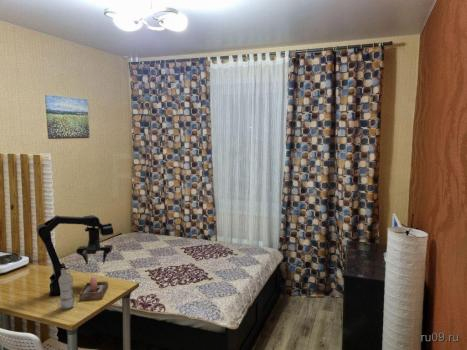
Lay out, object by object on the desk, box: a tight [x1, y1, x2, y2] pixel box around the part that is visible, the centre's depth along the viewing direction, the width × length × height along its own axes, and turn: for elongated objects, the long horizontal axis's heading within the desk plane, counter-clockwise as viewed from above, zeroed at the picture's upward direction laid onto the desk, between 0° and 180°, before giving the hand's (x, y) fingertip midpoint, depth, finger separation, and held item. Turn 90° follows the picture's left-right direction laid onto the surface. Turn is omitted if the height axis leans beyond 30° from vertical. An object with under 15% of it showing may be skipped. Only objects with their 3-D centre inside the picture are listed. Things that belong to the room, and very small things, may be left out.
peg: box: [89, 276, 98, 292], centre depth 183 cm, size 3×3×9 cm
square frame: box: [79, 281, 109, 301], centre depth 183 cm, size 11×13×4 cm
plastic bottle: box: [59, 267, 75, 310], centre depth 168 cm, size 6×7×20 cm
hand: (95, 263), depth 195 cm, fingers open, 9 cm apart
